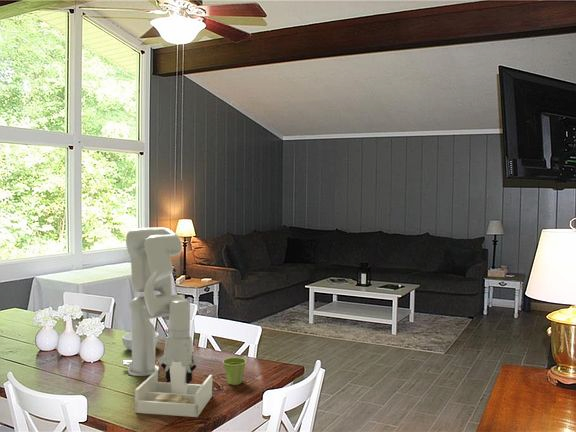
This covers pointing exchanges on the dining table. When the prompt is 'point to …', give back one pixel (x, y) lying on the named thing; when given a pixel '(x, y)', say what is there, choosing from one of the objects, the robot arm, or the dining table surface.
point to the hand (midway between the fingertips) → (179, 381)
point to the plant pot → (234, 370)
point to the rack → (153, 388)
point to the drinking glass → (178, 378)
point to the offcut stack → (170, 398)
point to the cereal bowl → (128, 340)
